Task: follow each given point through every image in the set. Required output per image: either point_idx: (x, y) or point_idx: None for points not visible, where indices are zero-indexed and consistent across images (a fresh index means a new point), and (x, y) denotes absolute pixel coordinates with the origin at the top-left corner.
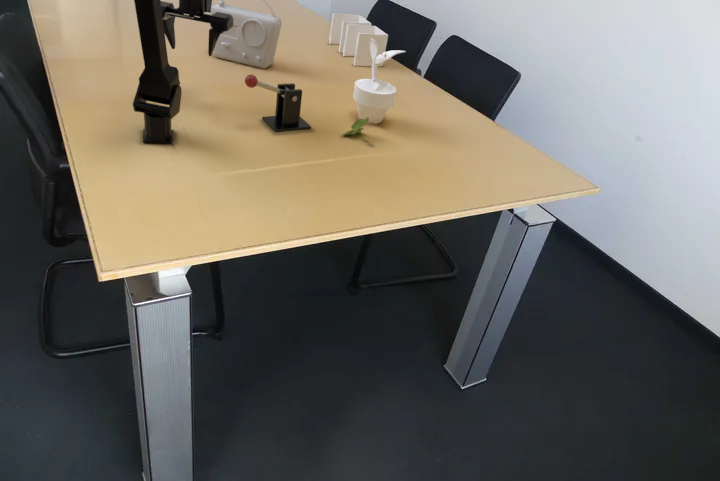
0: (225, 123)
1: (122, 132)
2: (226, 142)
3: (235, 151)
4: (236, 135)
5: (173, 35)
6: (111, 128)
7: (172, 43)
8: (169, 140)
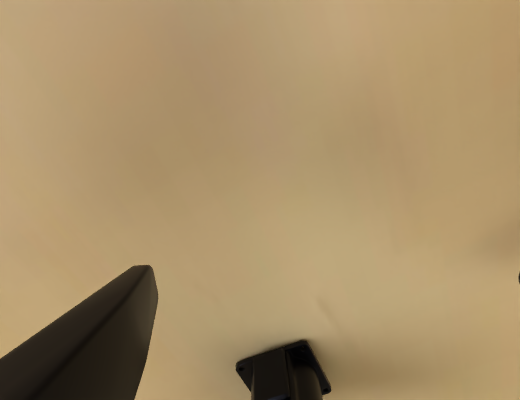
0: (443, 222)
1: (193, 383)
2: (460, 330)
3: (488, 360)
4: (487, 284)
5: (87, 395)
6: (157, 377)
7: (144, 366)
8: (321, 390)
